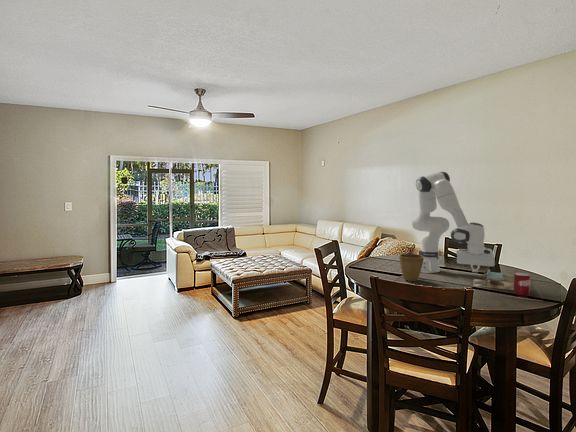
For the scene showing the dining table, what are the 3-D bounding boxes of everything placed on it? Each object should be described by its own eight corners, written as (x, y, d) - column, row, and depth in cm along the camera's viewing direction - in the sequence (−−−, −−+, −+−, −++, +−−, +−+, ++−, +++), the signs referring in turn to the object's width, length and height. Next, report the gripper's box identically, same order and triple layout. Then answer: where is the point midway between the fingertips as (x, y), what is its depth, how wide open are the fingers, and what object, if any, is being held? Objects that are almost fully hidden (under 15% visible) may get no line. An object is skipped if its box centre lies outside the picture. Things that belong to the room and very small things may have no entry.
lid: (487, 278, 195) (487, 273, 195) (486, 273, 207) (486, 268, 207) (503, 279, 191) (503, 274, 191) (502, 274, 203) (502, 269, 203)
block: (490, 284, 199) (490, 277, 199) (489, 283, 203) (490, 275, 202) (499, 285, 197) (499, 278, 196) (498, 283, 201) (498, 276, 200)
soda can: (510, 294, 184) (510, 272, 184) (522, 293, 185) (523, 272, 184) (520, 298, 177) (521, 275, 176) (533, 297, 178) (534, 275, 177)
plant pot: (406, 283, 208) (406, 258, 207) (394, 277, 223) (395, 254, 222) (428, 282, 210) (428, 257, 209) (415, 276, 225) (416, 253, 224)
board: (473, 287, 198) (473, 277, 197) (473, 280, 213) (473, 271, 212) (522, 293, 186) (522, 282, 186) (519, 285, 201) (519, 275, 200)
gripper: (456, 249, 206) (455, 271, 207) (495, 251, 195) (494, 275, 196) (456, 247, 211) (456, 269, 212) (495, 250, 201) (494, 272, 202)
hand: (475, 272), depth 204 cm, fingers closed
